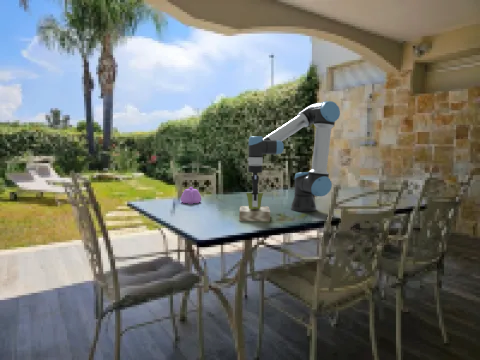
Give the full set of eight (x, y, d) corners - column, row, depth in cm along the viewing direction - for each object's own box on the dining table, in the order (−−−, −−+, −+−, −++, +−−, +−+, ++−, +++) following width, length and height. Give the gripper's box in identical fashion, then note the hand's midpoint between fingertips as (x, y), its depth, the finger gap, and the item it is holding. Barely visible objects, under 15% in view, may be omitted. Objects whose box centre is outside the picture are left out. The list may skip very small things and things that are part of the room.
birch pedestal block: (268, 215, 204) (268, 206, 203) (270, 221, 188) (270, 211, 187) (239, 214, 204) (240, 206, 204) (239, 220, 188) (239, 211, 188)
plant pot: (262, 209, 187) (262, 192, 187) (244, 209, 189) (244, 192, 189) (264, 208, 196) (264, 192, 196) (247, 208, 198) (247, 192, 198)
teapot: (200, 199, 257) (200, 185, 255) (202, 204, 237) (202, 188, 236) (180, 200, 254) (180, 185, 253) (181, 205, 234) (180, 188, 233)
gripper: (248, 163, 206) (247, 200, 208) (248, 166, 181) (247, 208, 183) (261, 164, 206) (260, 200, 208) (263, 166, 181) (262, 208, 183)
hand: (254, 204), depth 195 cm, fingers open, 13 cm apart
